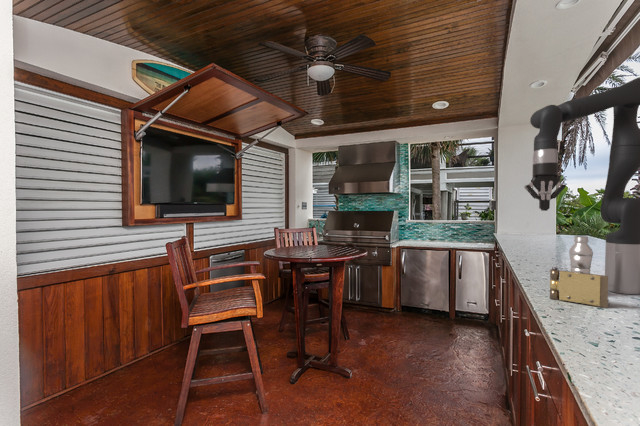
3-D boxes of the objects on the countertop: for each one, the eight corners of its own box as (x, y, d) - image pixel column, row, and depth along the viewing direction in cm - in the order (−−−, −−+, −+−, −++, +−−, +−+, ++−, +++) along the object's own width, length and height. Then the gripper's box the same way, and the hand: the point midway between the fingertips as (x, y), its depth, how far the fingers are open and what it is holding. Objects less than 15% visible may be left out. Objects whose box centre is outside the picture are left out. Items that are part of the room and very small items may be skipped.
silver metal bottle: (586, 293, 113) (588, 235, 113) (595, 298, 107) (597, 237, 106) (564, 291, 115) (565, 235, 115) (572, 296, 109) (573, 236, 108)
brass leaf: (548, 297, 105) (549, 270, 105) (550, 295, 108) (551, 268, 107) (599, 306, 97) (600, 276, 97) (600, 304, 99) (600, 274, 99)
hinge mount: (553, 294, 111) (553, 264, 111) (608, 303, 102) (609, 270, 101) (549, 298, 106) (549, 267, 106) (607, 308, 96) (608, 274, 96)
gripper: (561, 163, 120) (560, 210, 120) (521, 164, 123) (520, 210, 124) (571, 160, 112) (570, 210, 113) (527, 162, 116) (527, 210, 117)
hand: (544, 210), depth 118 cm, fingers closed
